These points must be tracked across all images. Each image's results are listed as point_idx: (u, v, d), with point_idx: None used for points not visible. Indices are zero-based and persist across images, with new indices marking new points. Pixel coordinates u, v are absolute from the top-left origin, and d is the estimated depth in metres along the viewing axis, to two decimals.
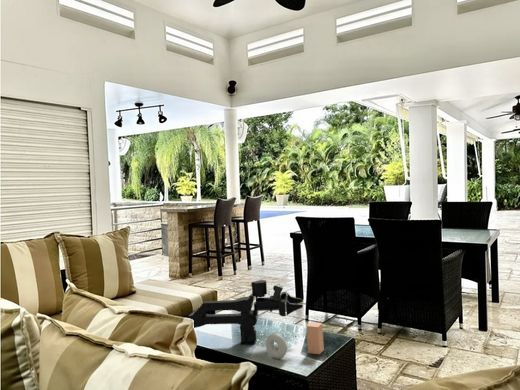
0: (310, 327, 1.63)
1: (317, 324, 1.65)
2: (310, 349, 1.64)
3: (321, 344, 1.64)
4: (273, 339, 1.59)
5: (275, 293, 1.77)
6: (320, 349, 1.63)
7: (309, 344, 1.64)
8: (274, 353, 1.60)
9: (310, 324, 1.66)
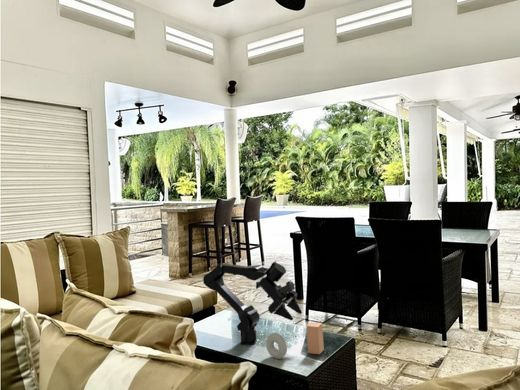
0: (310, 327, 1.63)
1: (317, 324, 1.65)
2: (310, 349, 1.64)
3: (321, 344, 1.64)
4: (273, 339, 1.59)
5: (282, 288, 1.69)
6: (320, 349, 1.63)
7: (309, 344, 1.64)
8: (274, 353, 1.60)
9: (310, 324, 1.66)
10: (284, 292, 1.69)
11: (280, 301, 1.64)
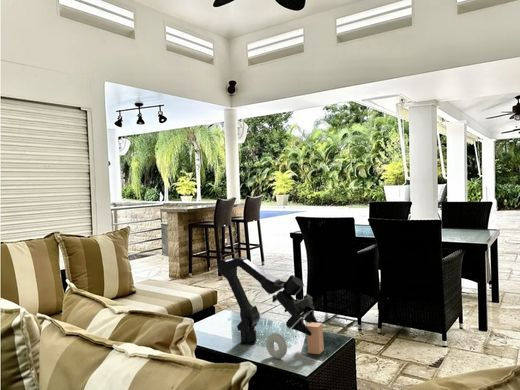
0: (310, 327, 1.63)
1: (317, 324, 1.65)
2: (310, 349, 1.64)
3: (321, 344, 1.64)
4: (273, 339, 1.59)
5: (300, 303, 1.65)
6: (320, 349, 1.63)
7: (309, 344, 1.64)
8: (274, 353, 1.60)
9: (310, 324, 1.66)
10: (302, 306, 1.65)
11: (298, 316, 1.61)
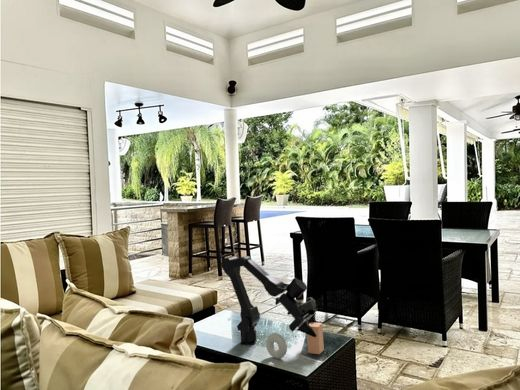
0: None
1: (317, 324, 1.65)
2: (310, 349, 1.64)
3: (321, 344, 1.64)
4: (273, 339, 1.59)
5: (303, 306, 1.65)
6: (320, 349, 1.63)
7: (309, 344, 1.64)
8: (274, 353, 1.60)
9: (310, 324, 1.66)
10: (305, 309, 1.64)
11: (302, 319, 1.60)
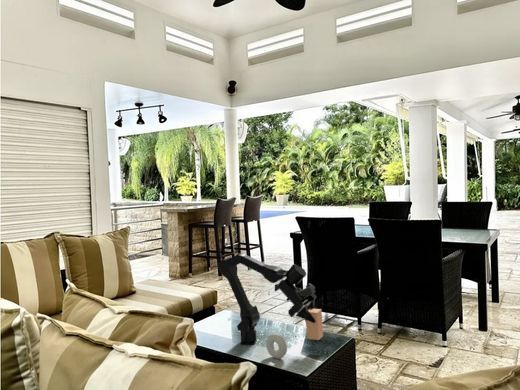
0: None
1: (316, 310, 1.65)
2: (309, 335, 1.64)
3: (320, 330, 1.64)
4: (273, 339, 1.59)
5: (302, 291, 1.65)
6: (319, 335, 1.63)
7: (308, 330, 1.64)
8: (274, 353, 1.60)
9: (309, 310, 1.66)
10: (304, 295, 1.64)
11: (301, 304, 1.60)
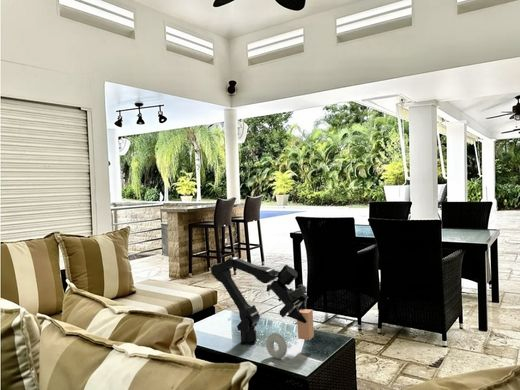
0: None
1: (307, 310, 1.67)
2: (300, 335, 1.66)
3: (311, 330, 1.66)
4: (273, 339, 1.59)
5: (294, 292, 1.67)
6: (310, 335, 1.65)
7: (299, 330, 1.66)
8: (274, 353, 1.60)
9: (300, 310, 1.68)
10: (296, 296, 1.66)
11: (292, 305, 1.62)
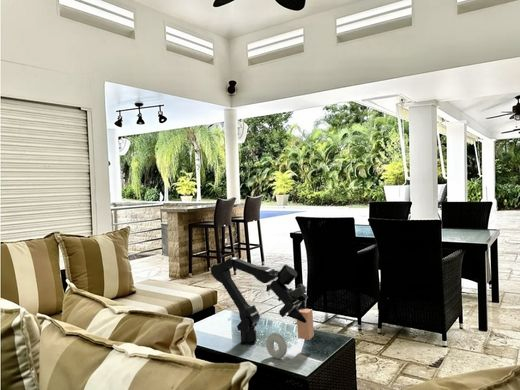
0: None
1: (307, 310, 1.67)
2: (300, 335, 1.66)
3: (311, 330, 1.66)
4: (273, 339, 1.59)
5: (293, 292, 1.67)
6: (310, 335, 1.65)
7: (299, 330, 1.66)
8: (274, 353, 1.60)
9: (300, 310, 1.68)
10: (295, 295, 1.66)
11: (291, 305, 1.62)
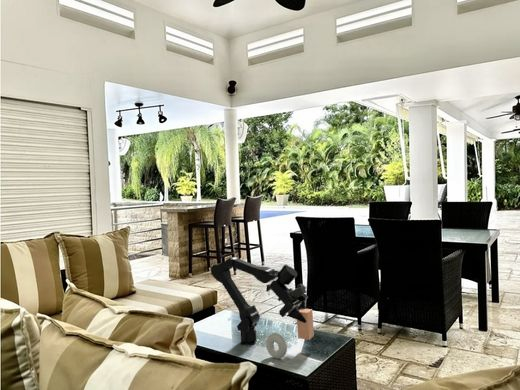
0: None
1: (307, 310, 1.67)
2: (300, 335, 1.66)
3: (311, 330, 1.66)
4: (273, 339, 1.59)
5: (293, 292, 1.67)
6: (310, 335, 1.65)
7: (299, 330, 1.66)
8: (274, 353, 1.60)
9: (300, 310, 1.68)
10: (295, 295, 1.66)
11: (291, 305, 1.62)
